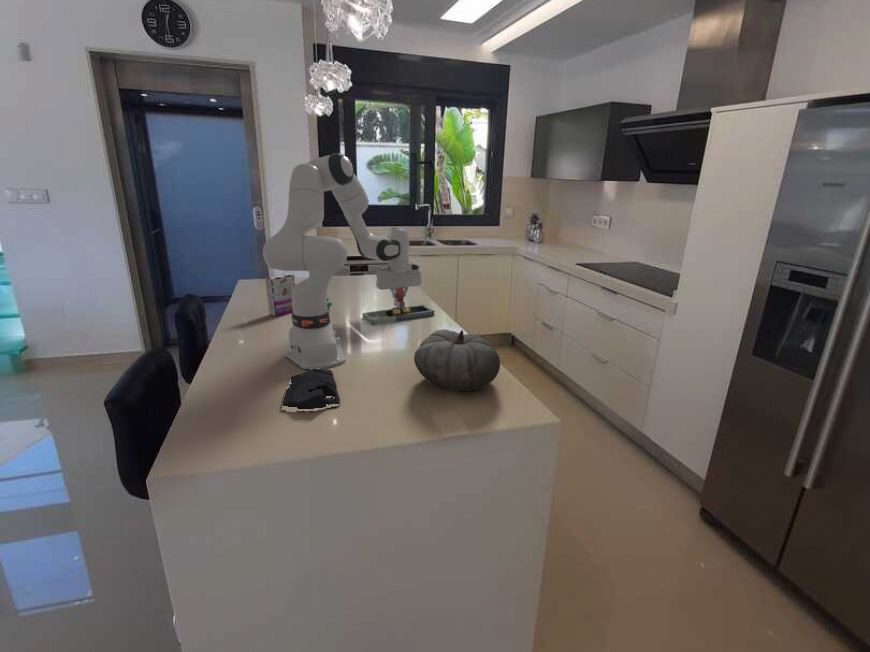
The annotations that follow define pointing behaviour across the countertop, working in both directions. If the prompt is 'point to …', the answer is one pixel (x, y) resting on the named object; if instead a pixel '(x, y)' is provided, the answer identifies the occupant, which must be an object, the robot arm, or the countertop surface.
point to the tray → (372, 321)
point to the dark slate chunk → (311, 390)
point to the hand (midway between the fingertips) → (399, 297)
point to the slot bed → (412, 313)
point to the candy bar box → (280, 293)
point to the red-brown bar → (399, 298)
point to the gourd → (457, 361)
